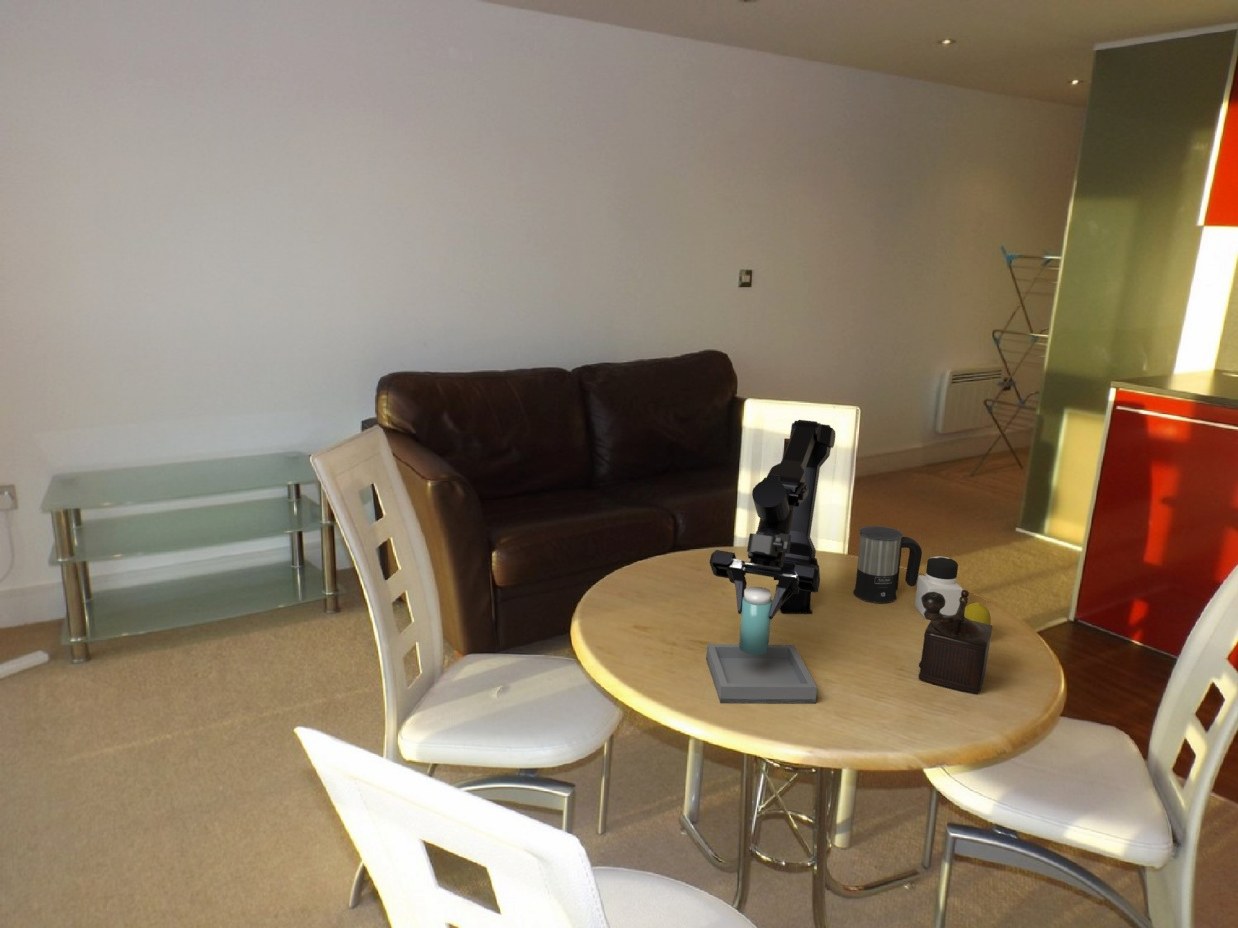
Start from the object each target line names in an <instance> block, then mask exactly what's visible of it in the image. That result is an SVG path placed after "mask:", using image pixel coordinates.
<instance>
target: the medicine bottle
mask: <svg viewBox="0 0 1238 928" xmlns="http://www.w3.org/2000/svg"><path fill="white" fill-rule="evenodd" d="M925 569H926V572H925V575H924V574H920V575H919V574H918V578H917V583H916V593H915V599H914V606H915V608H916V609H917V610H918V612H919V613H920V614H921V616H922V617H923V619H925V620H927V619H926V618H925V616H924V612H925V610H926V609H925V608H924V607H923V604H922V600H921V598H922V596H923V595H924V594H926V593H928V592H937V593H940V594H942V595H943V596H944V599H945V601H946V602H945V606H944V607H943V608H942V609H941V610H940V613H942V614H944V615H948V616H949V615H955V614H956V613H957V610H958V608H959V605H960V602H959V599H960V597H961V592H962V591H963V590H964V589H963V587H962V586H961V585H960V584H959V582H957V578H958V569H959V563H958V562H957V561H956V560H954V559H952V558H951V557H947V556H933V557H932V556H931V557H929V558H928V559H927V562H926V568H925Z"/></svg>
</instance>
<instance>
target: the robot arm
mask: <svg viewBox="0 0 1238 928" xmlns="http://www.w3.org/2000/svg"><path fill="white" fill-rule="evenodd" d="M835 443H836V430H835V429H834V428H833V427H831V425H830V424H825V423H824V424H823V423H822V424H821V422H818V421H817V420H816V421H814V420H807V419H806V420H805V419H798V420H794V421H793V422H792V423H791V427H790V433H789V441H788V444H787V446H786V449H785V451H784V454H783V457H782V459H781V461H780V463H778V464H775V465H773V466H772V467H770V469H769V472H768V473H767V475H766V477H764V478H763V479H762V480H761V481H759V482H758V483H757V484H756V485H755V486H754V487H753V489H752V492H751V494H752V500H753V503H754V508H755V510H756V514H757V517H758V518H759V522H758V526H757V530H756V532H755V533H749V537H748V542H747V548H746V552H747V558H748V559H749V560H750V561H744V560H742V559H738V558H737V556H736V553H735V552H732V551H724V550H718V549H716V550H714V551H713V552H712V553H711V554H710V559H709V565H710V568H711V571H712V574H713V575H714V576H715V577H719V578H725V579H729V582H730V583H732V584H734V586H735V594H736V596H735V597H736V605H737V613H738V614H739V615H741V614H742V600H743V597H744V590H745V589H746V588H747V579H746V576H747V575H746V574H751V575H758V576H764V577H769V578H773V581H778V582H777V584H776V585H775V593H774V597H773V600H772V605H771V608H770V613H769V619H771V620H772V619H773V618H775V616H776V614H777V612H779V611H780V613H782V614H812V613H813V609H812V608H811V602H812V601H811V600H812V593H818V592H819V589H820V584H821V574H820V565H819V563H818V559H817V558H816V554H817V553H816V552H817V550H816V548H815V544H814V543H813V541H812V538H811V532H812V526H813V525H812V524H813V520H814V519H813V518H814V512H815V504H816V498H817V492H818V491H817V490H818V484H819V477H820V471H821V470H820V469H821V467H822V465H824V464H825V462H826V461H827V460H828V458H829V457H830V456H831V449H833V448H834V446H835ZM790 507H792V508H791V509H790Z"/></svg>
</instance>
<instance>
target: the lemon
mask: <svg viewBox="0 0 1238 928" xmlns="http://www.w3.org/2000/svg"><path fill="white" fill-rule="evenodd" d="M964 616H965V618H968V619H969V620H971V621H976V622H980V623H984V624H988V625H992V624H991V622H992V621H991V620H992V618H991V613H990V611H989V609H988V608H987V607H986V606H985V605H984V604H982V603H981V602H980V601H976V602H972V603H968V604H967V605H966V607H965V613H964Z"/></svg>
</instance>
